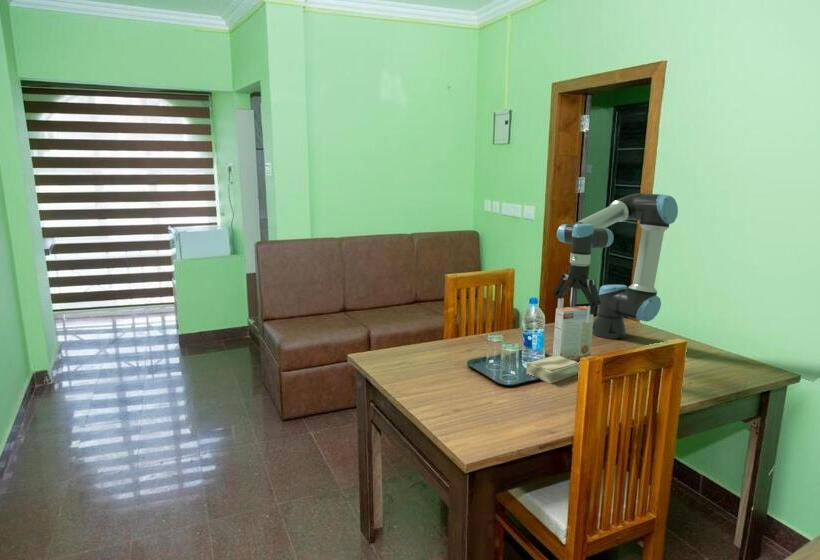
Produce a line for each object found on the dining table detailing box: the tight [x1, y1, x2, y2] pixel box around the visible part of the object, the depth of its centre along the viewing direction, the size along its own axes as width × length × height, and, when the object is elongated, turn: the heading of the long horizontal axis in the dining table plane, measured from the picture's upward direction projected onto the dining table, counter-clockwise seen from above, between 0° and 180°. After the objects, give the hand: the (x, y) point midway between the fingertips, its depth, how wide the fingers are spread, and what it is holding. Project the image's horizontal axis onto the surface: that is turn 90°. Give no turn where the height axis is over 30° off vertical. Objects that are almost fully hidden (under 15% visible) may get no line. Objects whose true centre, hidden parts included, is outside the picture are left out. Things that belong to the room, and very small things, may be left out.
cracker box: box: [552, 305, 595, 362], centre depth 214 cm, size 14×6×21 cm, turn 108°
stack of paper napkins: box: [525, 354, 580, 384], centre depth 199 cm, size 11×17×4 cm, turn 128°
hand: (574, 318), depth 212 cm, fingers open, 13 cm apart
